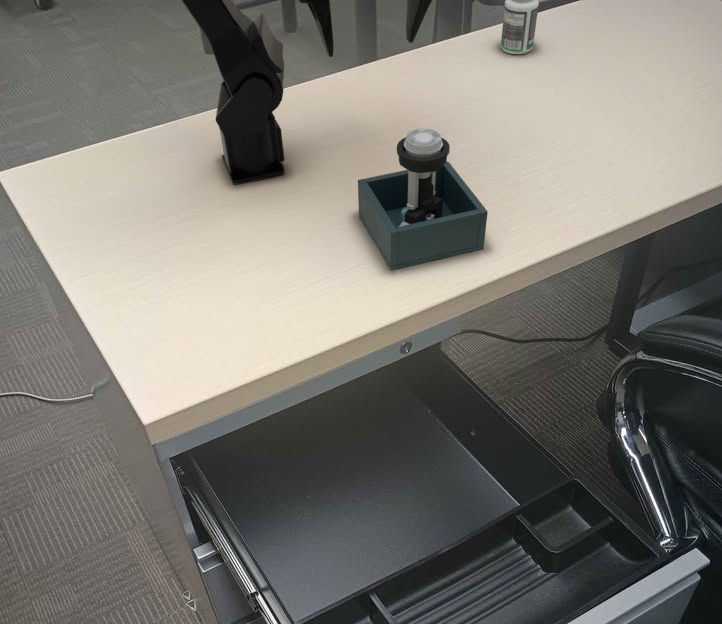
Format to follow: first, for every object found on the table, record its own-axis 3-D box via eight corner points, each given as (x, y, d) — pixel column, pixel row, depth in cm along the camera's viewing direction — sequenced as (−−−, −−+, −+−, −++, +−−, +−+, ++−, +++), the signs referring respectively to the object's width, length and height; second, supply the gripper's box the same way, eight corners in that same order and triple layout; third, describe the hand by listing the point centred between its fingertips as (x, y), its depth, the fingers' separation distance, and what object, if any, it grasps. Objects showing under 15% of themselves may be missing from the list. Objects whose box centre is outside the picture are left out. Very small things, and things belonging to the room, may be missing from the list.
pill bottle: (525, 39, 114) (533, -26, 107) (537, 52, 111) (547, -13, 104) (495, 43, 113) (501, -21, 106) (507, 57, 110) (514, -9, 103)
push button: (416, 251, 81) (419, 162, 73) (378, 233, 83) (377, 145, 75) (454, 223, 84) (461, 134, 76) (416, 206, 86) (419, 118, 78)
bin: (390, 270, 80) (390, 233, 76) (358, 216, 86) (357, 179, 83) (483, 249, 82) (488, 211, 78) (445, 197, 88) (448, 160, 85)
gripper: (428, -163, 77) (423, 7, 90) (249, -140, 74) (269, 33, 86) (472, -134, 71) (460, 45, 83) (278, -108, 68) (295, 75, 80)
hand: (370, 48), depth 83 cm, fingers open, 9 cm apart
